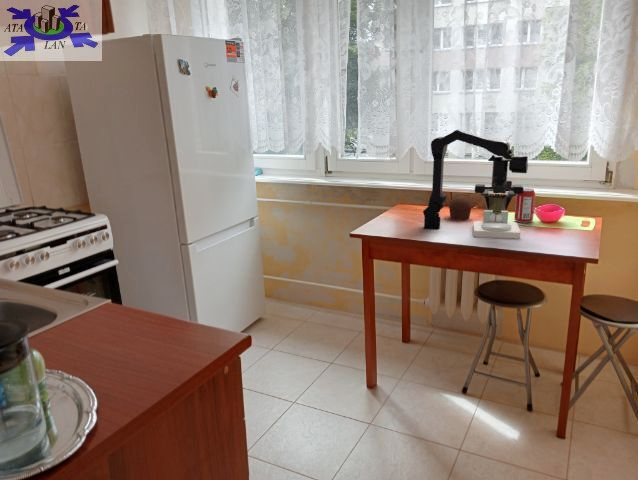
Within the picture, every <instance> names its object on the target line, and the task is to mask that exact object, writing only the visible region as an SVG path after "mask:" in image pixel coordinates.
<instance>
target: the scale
mask: <svg viewBox="0 0 638 480" xmlns="http://www.w3.org/2000/svg"><path fill="white" fill-rule="evenodd" d="M492 211H493V210H484V209H483V215H482V216H483V217H482V221H478V220H477V221H476V220H475V221H473V222H472V224H473V226H472V227H473V237H476V238H477V237H478V238H479V237H480V238H496V239H497V238H501V239H504V238H505V239H521V230H520V228H519V225H518V222H509V221H508V220H509V211H508V210H502V211H501V212H502V213H501V214H500V215H495V214H493V213H492Z"/></svg>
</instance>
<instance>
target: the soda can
mask: <svg viewBox="0 0 638 480" xmlns="http://www.w3.org/2000/svg"><path fill="white" fill-rule="evenodd" d="M523 188H524V191H523V194H516V196H515V205H514V221H516V223H520V224H529V223H531V222H533V220H534V215H535V214H534V212H535V202H536V192H535V189H534V188H530V187H523Z"/></svg>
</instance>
